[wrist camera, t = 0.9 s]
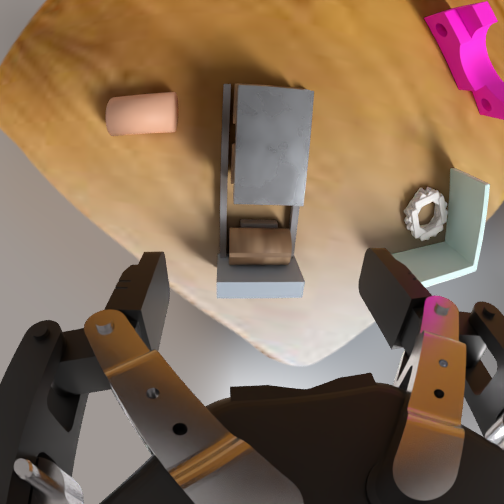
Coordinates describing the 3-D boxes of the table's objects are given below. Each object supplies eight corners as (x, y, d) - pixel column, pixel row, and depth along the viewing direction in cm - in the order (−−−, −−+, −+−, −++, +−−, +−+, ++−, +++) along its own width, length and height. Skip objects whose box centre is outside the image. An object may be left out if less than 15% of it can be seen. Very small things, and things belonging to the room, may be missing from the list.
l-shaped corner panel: (453, 167, 32) (489, 184, 26) (446, 245, 38) (475, 270, 32) (380, 175, 33) (413, 195, 26) (379, 261, 38) (405, 293, 32)
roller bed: (223, 84, 27) (223, 81, 23) (307, 90, 27) (318, 88, 24) (219, 253, 35) (219, 271, 32) (291, 254, 36) (298, 271, 33)
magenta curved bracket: (422, 18, 23) (460, 8, 16) (450, 8, 21) (487, 1, 15) (469, 120, 29) (507, 130, 22) (492, 105, 28) (529, 113, 21)
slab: (237, 87, 23) (238, 85, 21) (304, 92, 24) (314, 91, 21) (233, 193, 28) (233, 204, 25) (296, 195, 29) (303, 206, 26)
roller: (116, 91, 25) (102, 107, 22) (177, 86, 25) (170, 101, 23) (121, 124, 28) (110, 143, 26) (178, 120, 29) (172, 139, 26)
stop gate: (217, 253, 35) (216, 282, 30) (293, 254, 36) (304, 281, 31) (217, 268, 36) (217, 298, 31) (291, 268, 37) (302, 297, 32)
